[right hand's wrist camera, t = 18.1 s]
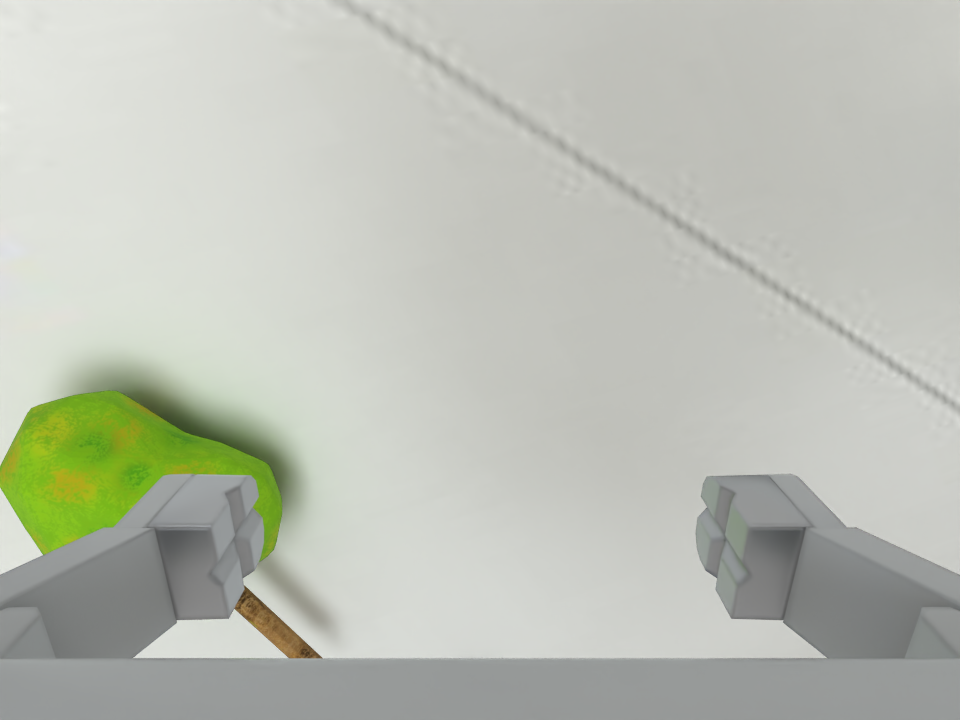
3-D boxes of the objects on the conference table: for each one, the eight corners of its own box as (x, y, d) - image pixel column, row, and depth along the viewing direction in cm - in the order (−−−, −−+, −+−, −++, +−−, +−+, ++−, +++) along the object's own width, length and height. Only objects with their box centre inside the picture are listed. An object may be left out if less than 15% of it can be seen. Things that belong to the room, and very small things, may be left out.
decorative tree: (218, 774, 45) (-121, 515, 36) (263, 659, 55) (6, 432, 45) (398, 684, 42) (74, 368, 32) (413, 578, 51) (167, 311, 42)
